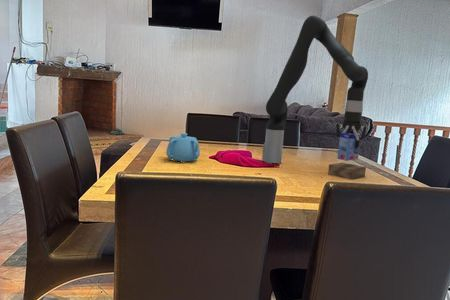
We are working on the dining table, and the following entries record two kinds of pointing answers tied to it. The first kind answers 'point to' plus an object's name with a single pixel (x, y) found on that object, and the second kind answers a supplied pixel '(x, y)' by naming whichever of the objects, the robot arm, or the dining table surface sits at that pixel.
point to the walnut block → (347, 170)
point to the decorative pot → (183, 148)
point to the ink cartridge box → (348, 147)
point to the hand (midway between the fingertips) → (349, 147)
